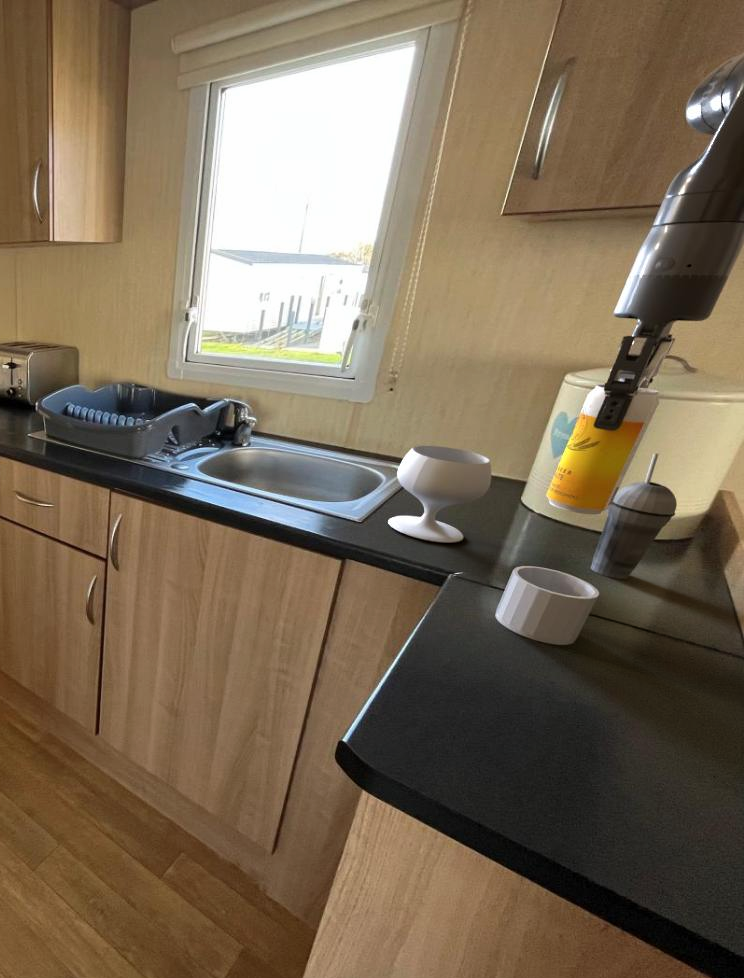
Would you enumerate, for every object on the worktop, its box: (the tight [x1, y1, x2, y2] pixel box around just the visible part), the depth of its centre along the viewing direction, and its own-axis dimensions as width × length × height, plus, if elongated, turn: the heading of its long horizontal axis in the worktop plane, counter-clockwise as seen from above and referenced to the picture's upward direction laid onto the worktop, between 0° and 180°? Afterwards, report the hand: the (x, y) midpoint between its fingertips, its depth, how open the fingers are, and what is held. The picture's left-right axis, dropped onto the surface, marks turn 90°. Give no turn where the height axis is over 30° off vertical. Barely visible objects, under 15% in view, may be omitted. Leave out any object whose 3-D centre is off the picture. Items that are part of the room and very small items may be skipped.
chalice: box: [387, 445, 492, 543], centre depth 101 cm, size 14×14×15 cm
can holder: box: [494, 565, 600, 646], centre depth 73 cm, size 9×9×7 cm
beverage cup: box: [590, 452, 678, 580], centre depth 86 cm, size 7×7×20 cm
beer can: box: [546, 384, 660, 515], centre depth 67 cm, size 6×6×15 cm
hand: (610, 425), depth 66 cm, fingers closed on beer can, 6 cm apart
